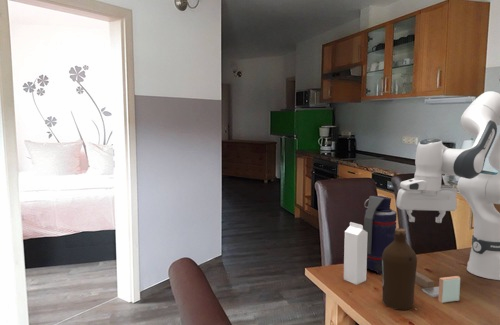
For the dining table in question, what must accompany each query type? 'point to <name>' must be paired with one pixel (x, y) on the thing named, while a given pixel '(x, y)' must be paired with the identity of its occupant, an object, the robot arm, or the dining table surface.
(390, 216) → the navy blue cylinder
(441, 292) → the tile
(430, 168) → the robot arm
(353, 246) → the milk
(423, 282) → the turner
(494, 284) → the dining table surface
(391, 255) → the olive oil
